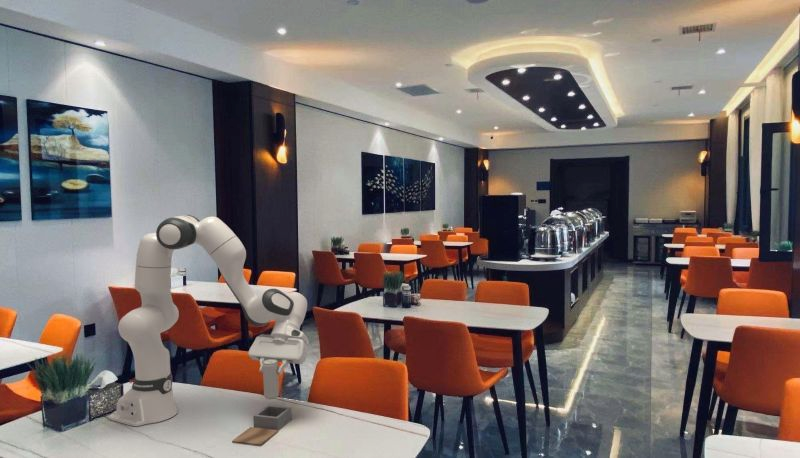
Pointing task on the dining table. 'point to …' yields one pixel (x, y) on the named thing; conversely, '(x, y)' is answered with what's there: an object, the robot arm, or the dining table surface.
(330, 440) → the dining table surface
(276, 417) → the can holder
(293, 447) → the dining table surface
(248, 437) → the coaster
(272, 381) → the beverage can
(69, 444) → the dining table surface
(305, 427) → the dining table surface
